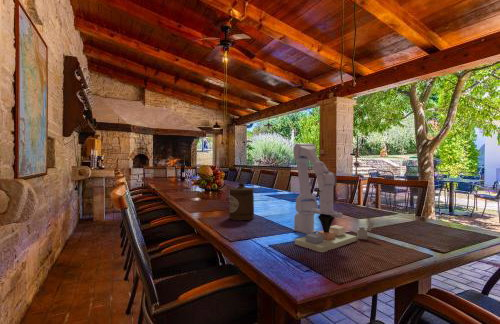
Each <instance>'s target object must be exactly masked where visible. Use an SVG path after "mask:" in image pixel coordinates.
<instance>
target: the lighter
mask: <svg viewBox="0 0 500 324" xmlns="http://www.w3.org/2000/svg"><path fill="white" fill-rule="evenodd" d="M374 225H375V222H373V221H370V223H369V224H368V226H367V228H365V226H359V227H358V228H356V236H357V239H356V240H368V231H369V232H371V230H372V229H373V227H374Z"/></svg>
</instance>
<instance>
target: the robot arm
mask: <svg viewBox="0 0 500 324" xmlns="http://www.w3.org/2000/svg"><path fill="white" fill-rule="evenodd" d="M292 151H293V158H294V161H295V162H296V166H297V176H298V182H299V192H300V193H299V195H298V196H297V197H296V198H295V210H296V213H295V215H294V217H293V218H294V221H293V223H294V224H293V225H294V226H293V229H292V230H293V231H295V232H298V233H302V234H306V235H307V234H311V233H318V230H317V229H315V215H318V219H319V222H320V224H321V227H322V230H323V231H324V232H326V233H327V232H329V229H330V226H332V223H333V221H334V219H335V218H336V219H337V218H338V219H343V212H338V211H336V210H335V211H334V186H336V184H337V176H336V174H335V173H334V172H332V171H330V170H329V169H328V168H327V166H326V164H325V162H324V161H321V160H320V159H319V157H318V154H317V153H316V152H317V147H316V145H315V144H314V143H298V142H297V143H295V144H294V146H293V149H292ZM309 162H310V164H312V167H311V169H312V171H313V172H314V174H315V176H316V177H317V179H316V182H317V186H318V190H319V204H318V202H317V198H316V196H315V195H313V194H312V193H311V185H310V176H309V170H308V169H309V168H308V163H309Z"/></svg>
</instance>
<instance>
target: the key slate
mask: <svg viewBox="0 0 500 324" xmlns="http://www.w3.org/2000/svg"><path fill="white" fill-rule="evenodd" d="M316 233H317V232H314V233H310V234H306V235H305V236H306V242H309V243H313V244H319V243H322V242H323V235H320V234H316Z"/></svg>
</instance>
